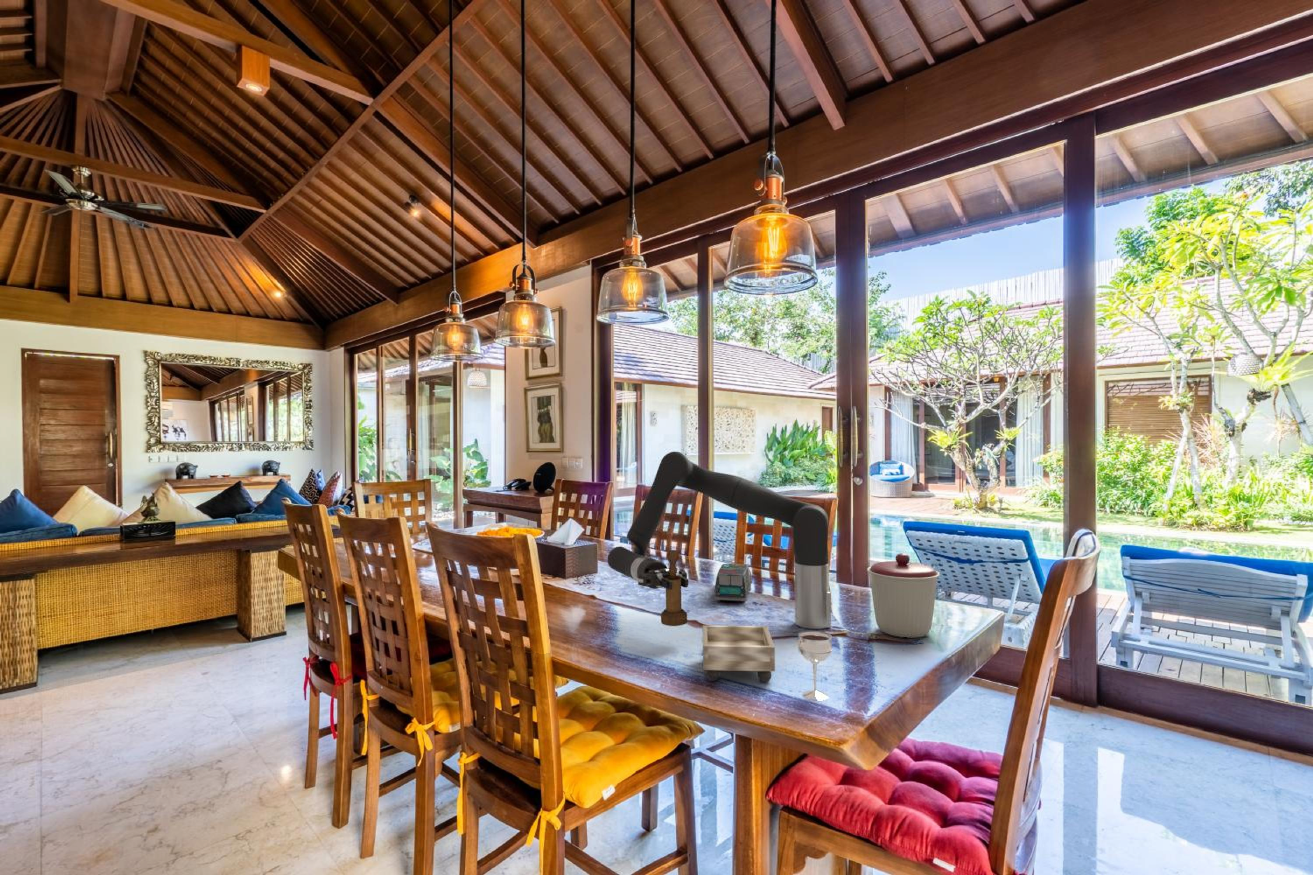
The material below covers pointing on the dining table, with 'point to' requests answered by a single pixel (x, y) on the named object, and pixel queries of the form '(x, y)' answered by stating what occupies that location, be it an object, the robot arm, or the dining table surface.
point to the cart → (738, 650)
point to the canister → (903, 596)
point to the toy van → (733, 582)
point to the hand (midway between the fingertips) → (678, 584)
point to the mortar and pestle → (673, 596)
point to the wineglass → (815, 655)
